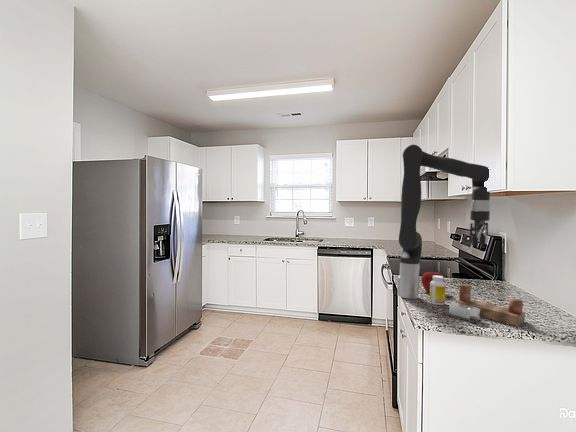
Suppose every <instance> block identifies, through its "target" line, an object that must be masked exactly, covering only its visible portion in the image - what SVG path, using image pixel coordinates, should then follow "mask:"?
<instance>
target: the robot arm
mask: <svg viewBox="0 0 576 432" xmlns="http://www.w3.org/2000/svg"><path fill="white" fill-rule="evenodd" d="M402 159H403V160H402V161H403V177H402V184H401V185H402V186H401V194H400V195H401V199H400V205H401V207H400V219H401V220H400V228H399V235H398V244H399V245H400V247H401V248H402V253H401V255H400V257H399V276H397V287H396V289H397V290H396V293H397V294H396V295H397V297H398V296H399V297H400V298H403V299H408V300H417V299H419V294H420V293H419V292H420V290H419V289H420V288H419V287H420V262H421V257H422V248H423V238H422V235H421V234H420V233H419V231H417V221H418V215H419V213H420V210H421V205H422V181H421V167H425V168H430V169H433V170H437V171H441V172H443V173H446V174H449V175H454V176H457V177H461V178H469V179H471V185H472V192H471V204H470V218H469V219H470V220H471V221H473V222H470V227H469V228H470V229H469V236H470V237H471V238H472V239H471V245H472V246H473V247H478V246H479V245H482V246H483V245H485V246H486V238H487V236H488V235H489V222H488V221H490V214H491V213H490V212H491V203H490V202H491V201H490V199H491V198H490V197H491V191H490V192H487V188H486V187H484V182H485V181H487V180H488V178H489V169H488V168H489V167H488V166H486V165H481V164H477V163H470V162H466V161H464V160H460V159H457V158H450V157H446V156H445V157H444V156H437V155H435V154H434V155H433V154H430V153H428V152H427V151H423V150H422V148H421V146H419V145H417V144H410V145H408V146H406V147H405V148H404V149H403V151H402Z"/></svg>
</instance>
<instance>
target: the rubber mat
mask: <svg viewBox="0 0 576 432" xmlns="http://www.w3.org/2000/svg"><path fill="white" fill-rule="evenodd" d="M443 315H444V316H447V317H450V316H451V318H454V317H455V318H454V319H457V318H459V319H458V320H461V319H463V320H462V321H465V320H467V321H466V322H468V321H471V322H470V323H472V322H475V323H477V322H476V321H474V320H469V319H466V318H462V317H458V316H455V315H451V314H449V310H447V311H445V312H443ZM480 319H481V320H482V317H480Z"/></svg>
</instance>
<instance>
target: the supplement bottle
mask: <svg viewBox="0 0 576 432" xmlns="http://www.w3.org/2000/svg"><path fill="white" fill-rule="evenodd" d="M432 278H433V281H431V282H430V293H429V303H430V304H431V305H436V306H444V305H445V304H446V283H445V282H443V279H444V276H443V277H442V276H437V275H434V276H433V277H432ZM444 280H445V279H444Z"/></svg>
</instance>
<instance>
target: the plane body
mask: <svg viewBox="0 0 576 432" xmlns="http://www.w3.org/2000/svg"><path fill="white" fill-rule="evenodd" d="M471 289H472V285H471V284H468V283H461V284H459V296H458V297H459V299H458V300H455V302H456V303H460V304H464V305H468V306H472V307H476V308H479V309H480V318H484V319H486V318H488V319H487V320H490V319H492V320H491V321H494V320H496V321H495V322H498V321H500V322H499V323H501V322H504V323H503V324H505V323H508V324H507V325H509V324H512V325H511V326H513V325H516V326H515V327H517V326H518V325H519V324H520V325H522V324H524V323H525V322H526V321H525V319H526V311H523V306H524V305H523V304H524V300H522V299H519V298H509V301H508V307H506V306H502V305H497V304H492V303H488V302H483V301H479V300H475V299H471V292H472V290H471ZM524 321H525V322H524ZM521 323H522V324H521ZM520 325H519V326H520ZM519 326H518V327H519Z"/></svg>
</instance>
